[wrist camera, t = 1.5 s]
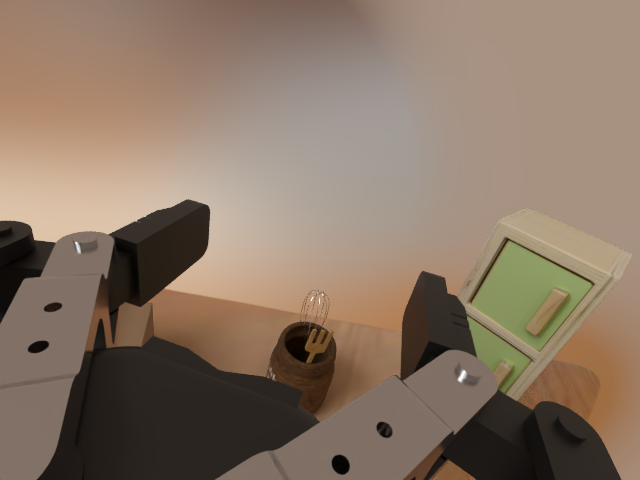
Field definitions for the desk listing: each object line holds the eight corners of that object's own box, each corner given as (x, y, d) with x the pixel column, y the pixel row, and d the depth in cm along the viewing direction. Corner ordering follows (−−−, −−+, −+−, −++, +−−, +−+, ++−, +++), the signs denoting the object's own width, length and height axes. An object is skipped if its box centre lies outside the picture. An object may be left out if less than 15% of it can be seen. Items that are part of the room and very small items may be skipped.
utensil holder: (322, 368, 35) (352, 280, 29) (326, 427, 30) (363, 335, 24) (266, 362, 34) (285, 270, 28) (260, 423, 29) (282, 326, 23)
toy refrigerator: (397, 394, 34) (494, 219, 24) (434, 363, 39) (528, 205, 29) (466, 462, 30) (623, 283, 19) (497, 418, 35) (638, 254, 24)
